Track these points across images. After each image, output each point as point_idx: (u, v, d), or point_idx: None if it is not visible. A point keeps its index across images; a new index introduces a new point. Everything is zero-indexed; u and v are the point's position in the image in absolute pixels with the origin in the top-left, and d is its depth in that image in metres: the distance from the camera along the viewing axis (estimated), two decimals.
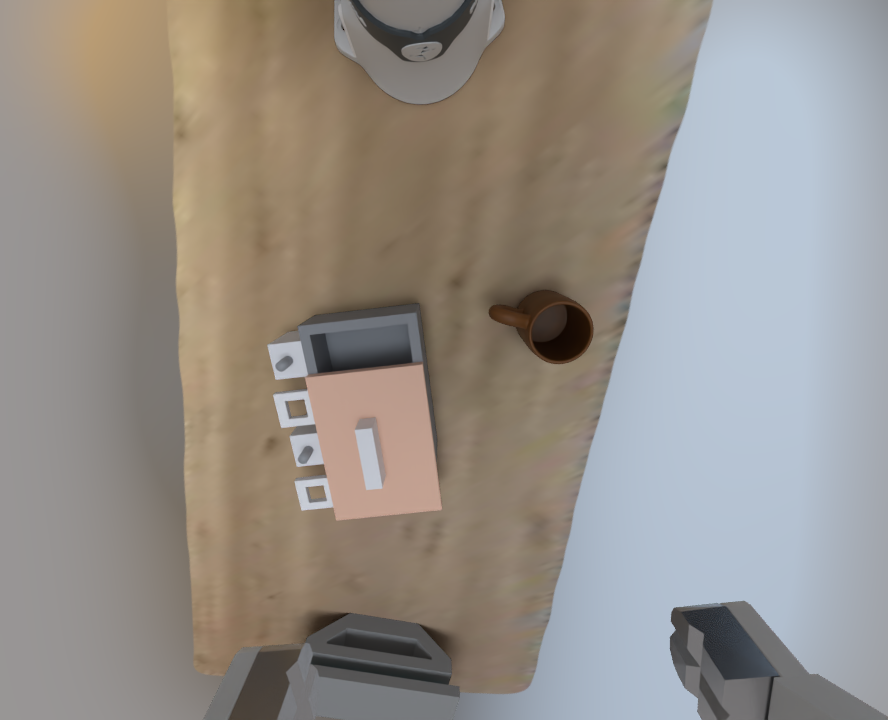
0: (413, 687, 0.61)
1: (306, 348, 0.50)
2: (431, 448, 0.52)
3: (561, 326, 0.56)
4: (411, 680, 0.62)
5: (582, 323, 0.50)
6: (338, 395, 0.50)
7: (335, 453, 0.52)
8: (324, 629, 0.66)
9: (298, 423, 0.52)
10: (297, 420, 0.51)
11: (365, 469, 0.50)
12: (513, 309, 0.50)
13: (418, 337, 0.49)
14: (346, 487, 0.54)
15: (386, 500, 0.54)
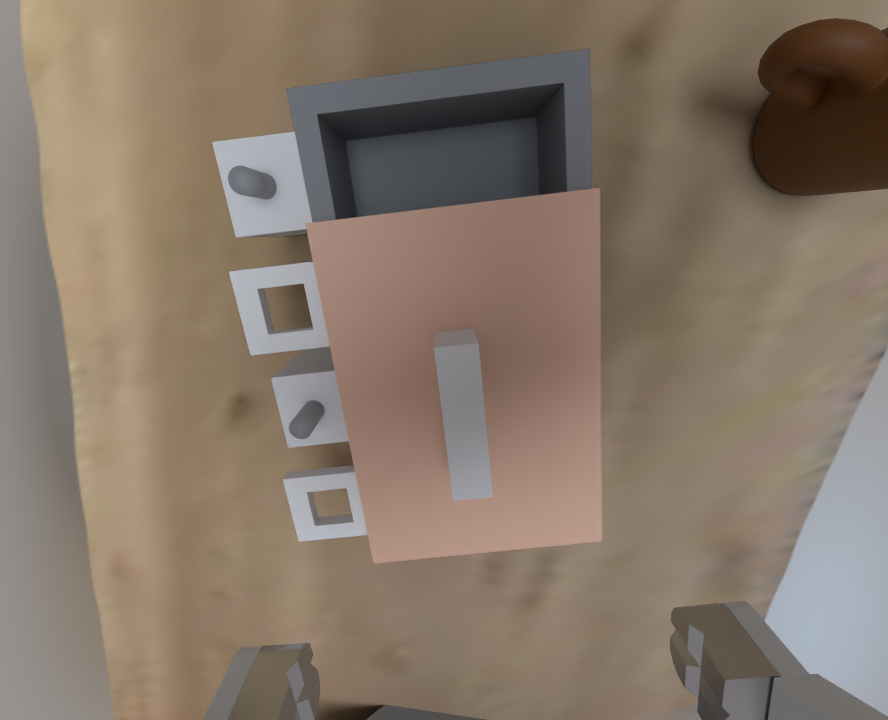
0: None
1: (309, 152, 0.20)
2: (596, 404, 0.23)
3: None
4: None
5: None
6: (387, 271, 0.21)
7: (375, 416, 0.23)
8: None
9: (290, 344, 0.22)
10: (288, 338, 0.22)
11: (454, 450, 0.20)
12: None
13: (588, 122, 0.20)
14: (397, 493, 0.24)
15: (483, 521, 0.25)
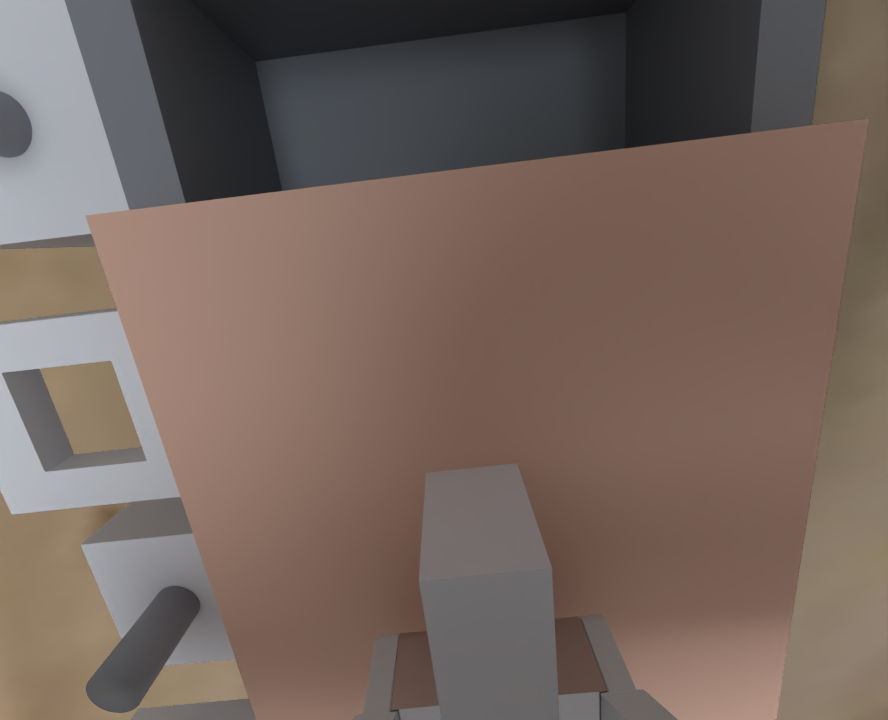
0: None
1: (101, 35, 0.08)
2: (780, 614, 0.10)
3: None
4: None
5: None
6: (305, 335, 0.08)
7: (297, 637, 0.10)
8: None
9: (98, 492, 0.10)
10: (92, 479, 0.10)
11: None
12: None
13: None
14: None
15: None
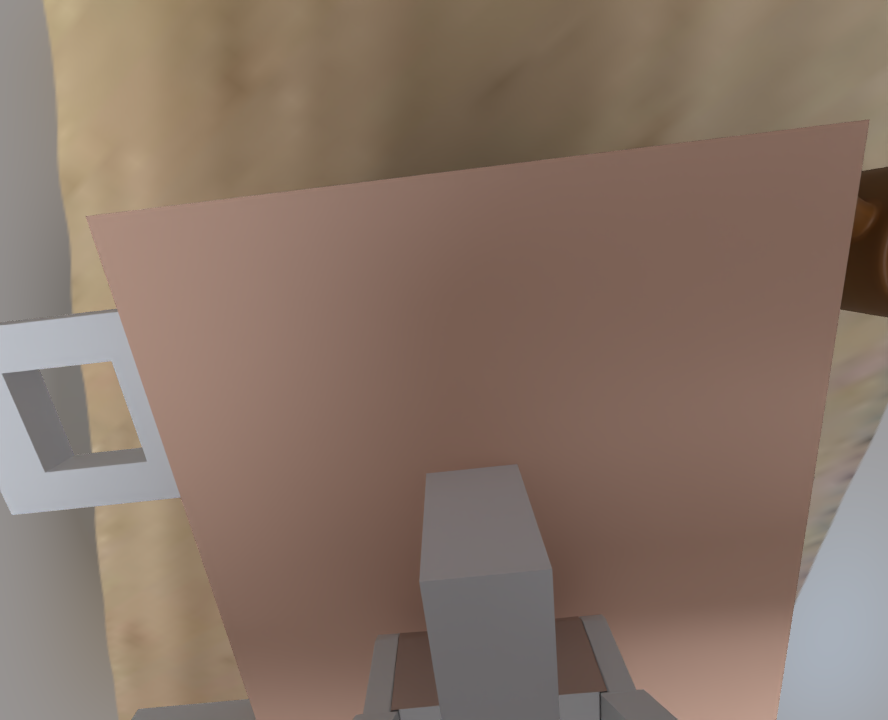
0: None
1: None
2: (780, 615, 0.10)
3: None
4: None
5: None
6: (306, 336, 0.08)
7: (297, 638, 0.10)
8: None
9: (98, 493, 0.10)
10: (92, 480, 0.10)
11: None
12: None
13: None
14: None
15: None
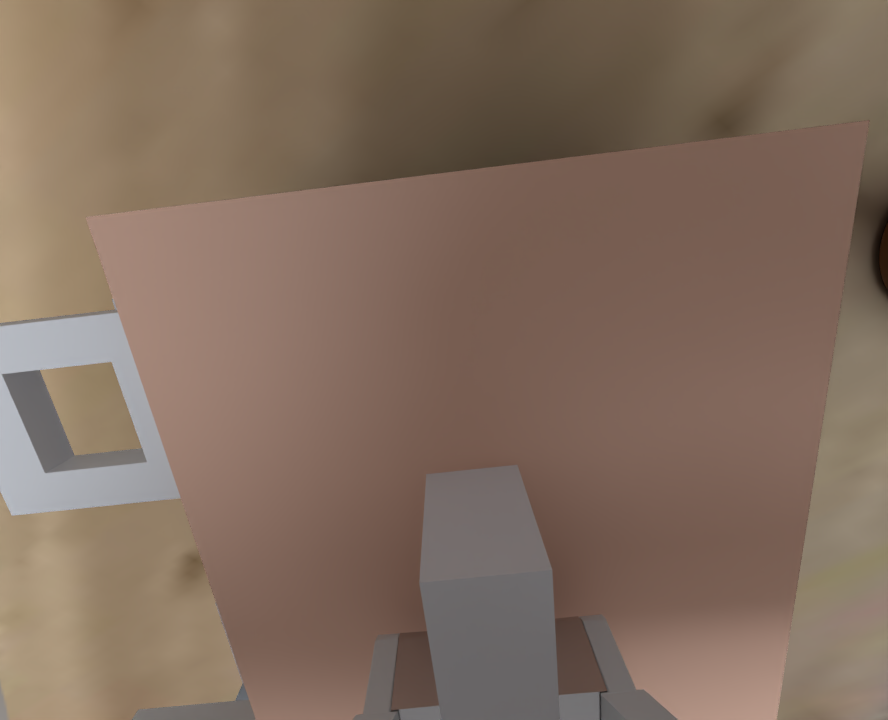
0: None
1: None
2: (781, 616, 0.10)
3: None
4: None
5: None
6: (306, 337, 0.08)
7: (297, 639, 0.10)
8: None
9: (99, 494, 0.10)
10: (92, 480, 0.10)
11: None
12: None
13: None
14: None
15: None
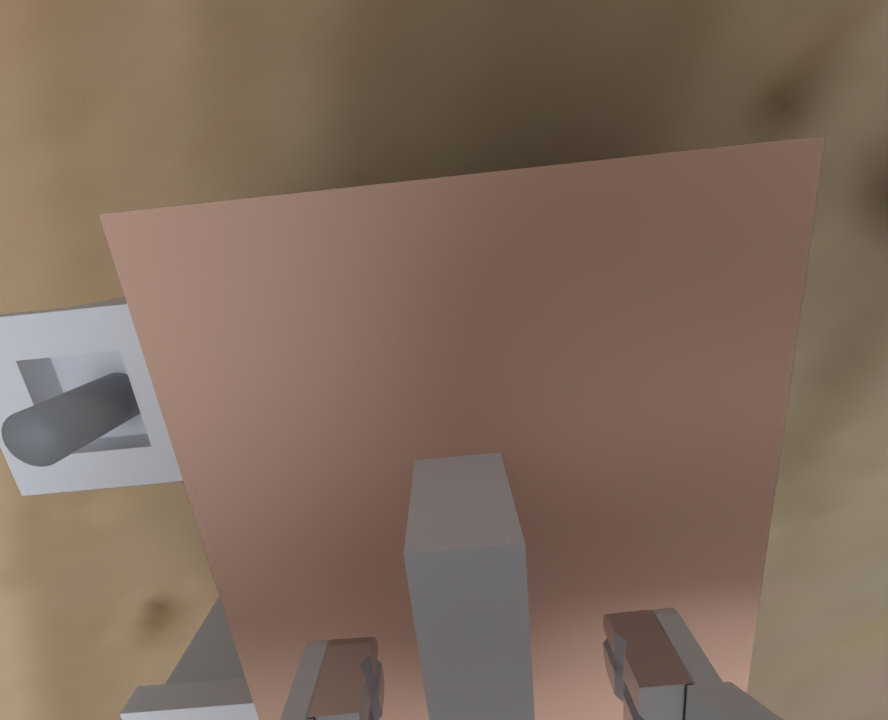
0: None
1: None
2: (748, 599, 0.11)
3: None
4: None
5: None
6: (303, 329, 0.09)
7: (291, 616, 0.11)
8: None
9: (105, 476, 0.10)
10: (99, 463, 0.10)
11: None
12: None
13: None
14: None
15: None
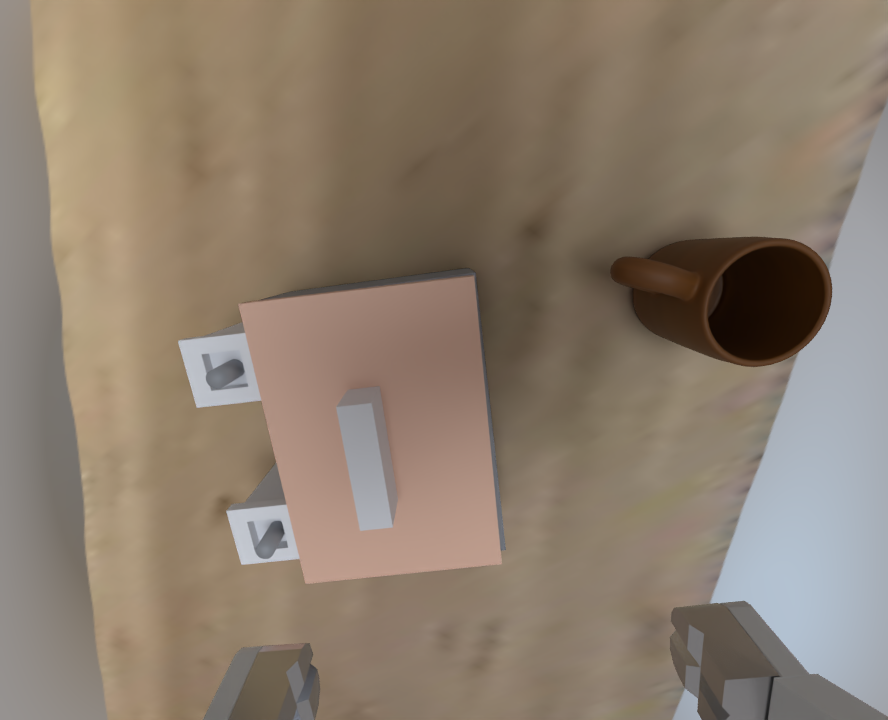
0: None
1: None
2: (486, 448, 0.27)
3: (710, 304, 0.33)
4: None
5: (785, 290, 0.26)
6: (305, 341, 0.25)
7: (301, 457, 0.27)
8: None
9: (229, 399, 0.27)
10: (228, 394, 0.27)
11: (358, 489, 0.24)
12: None
13: (478, 320, 0.26)
14: (323, 522, 0.28)
15: (398, 547, 0.29)
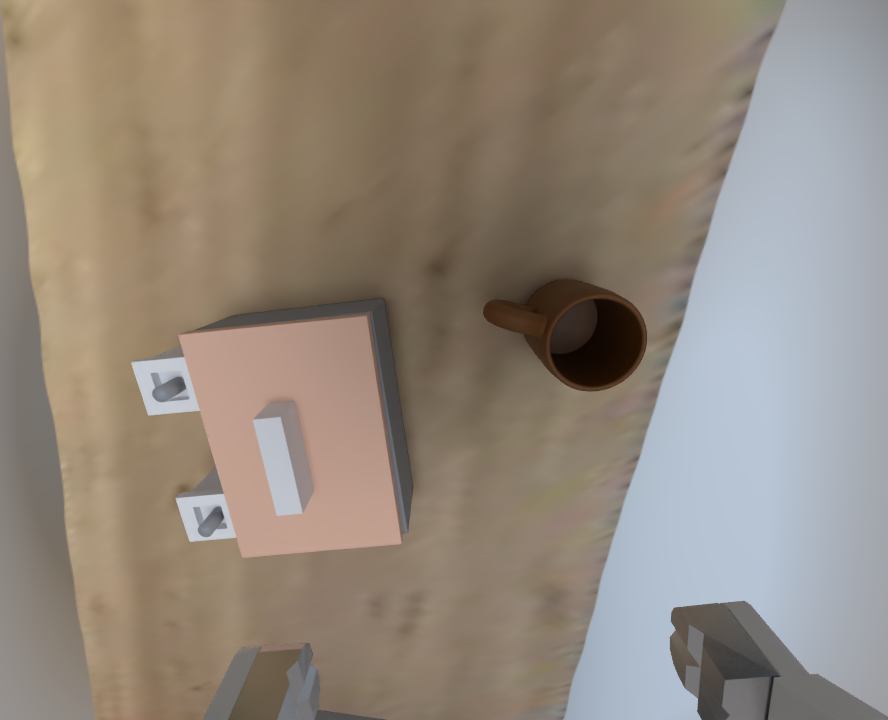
0: None
1: None
2: (383, 451, 0.34)
3: (588, 331, 0.39)
4: None
5: (625, 328, 0.33)
6: (233, 364, 0.31)
7: (234, 456, 0.34)
8: None
9: (174, 408, 0.33)
10: (173, 404, 0.33)
11: (273, 483, 0.31)
12: (521, 307, 0.33)
13: (376, 349, 0.32)
14: (254, 508, 0.35)
15: (316, 529, 0.36)
